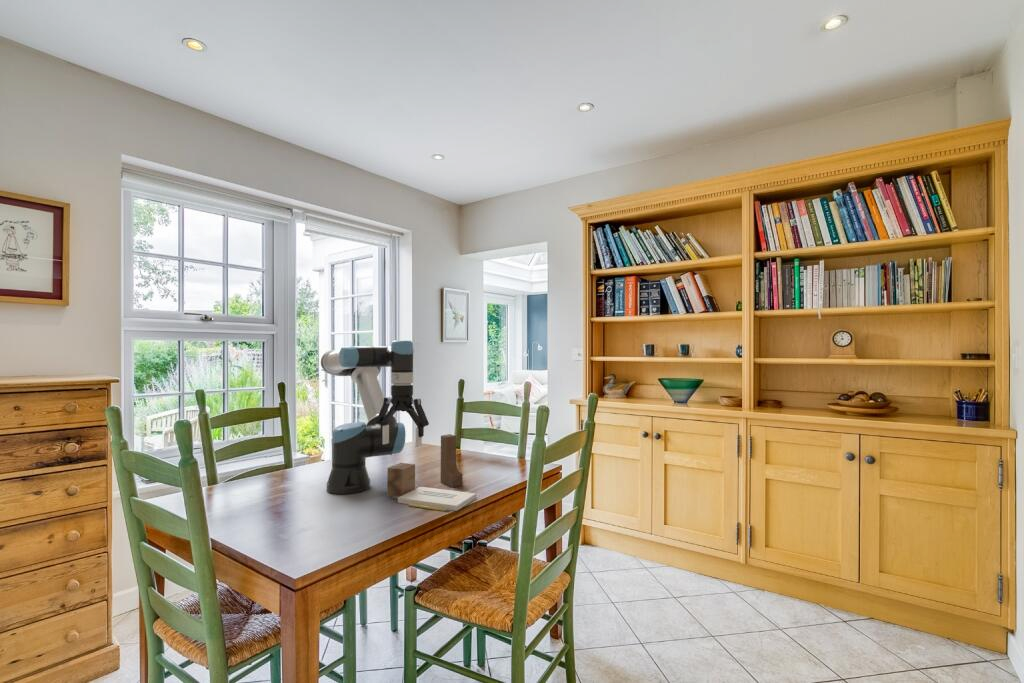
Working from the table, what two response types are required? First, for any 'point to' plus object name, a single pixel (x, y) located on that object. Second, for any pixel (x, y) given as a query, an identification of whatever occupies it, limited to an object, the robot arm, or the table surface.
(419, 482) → the table surface
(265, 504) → the table surface
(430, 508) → the pencil
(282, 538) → the table surface
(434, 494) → the board
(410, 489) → the block
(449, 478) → the wooden block
